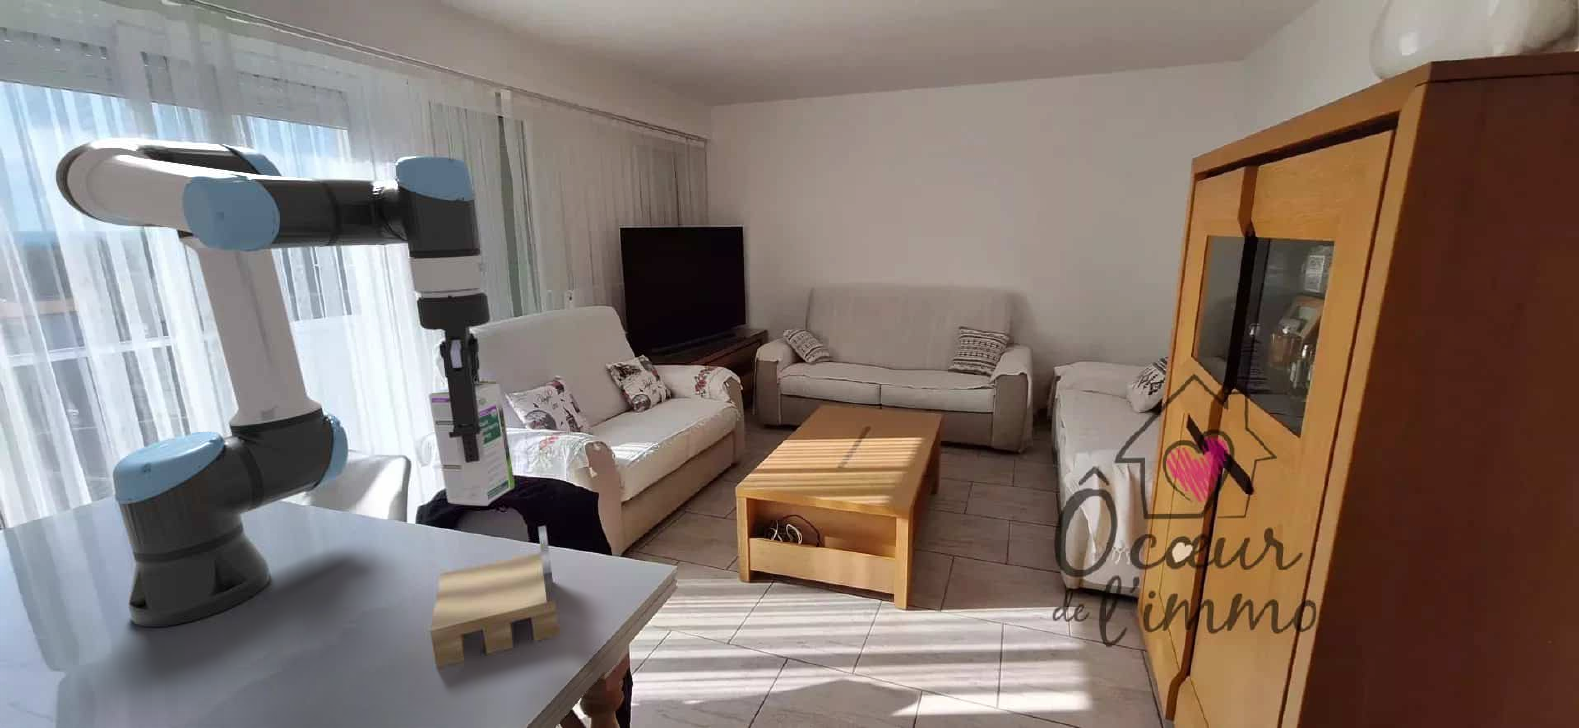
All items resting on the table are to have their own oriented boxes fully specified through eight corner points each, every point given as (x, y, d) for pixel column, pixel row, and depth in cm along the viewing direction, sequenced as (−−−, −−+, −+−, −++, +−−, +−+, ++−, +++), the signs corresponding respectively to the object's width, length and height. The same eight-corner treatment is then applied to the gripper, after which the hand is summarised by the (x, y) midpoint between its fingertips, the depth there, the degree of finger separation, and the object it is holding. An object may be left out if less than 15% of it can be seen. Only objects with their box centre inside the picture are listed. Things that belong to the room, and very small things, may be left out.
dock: (446, 605, 89) (436, 547, 87) (552, 581, 94) (545, 525, 92) (436, 667, 76) (424, 600, 74) (559, 635, 82) (551, 571, 80)
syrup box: (487, 506, 78) (470, 392, 75) (445, 504, 79) (427, 391, 76) (515, 488, 83) (501, 380, 80) (476, 485, 85) (460, 380, 81)
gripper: (483, 298, 68) (510, 497, 73) (488, 284, 86) (510, 444, 91) (402, 304, 65) (436, 510, 70) (426, 288, 83) (451, 452, 88)
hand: (478, 472), depth 81 cm, fingers closed on syrup box, 8 cm apart
